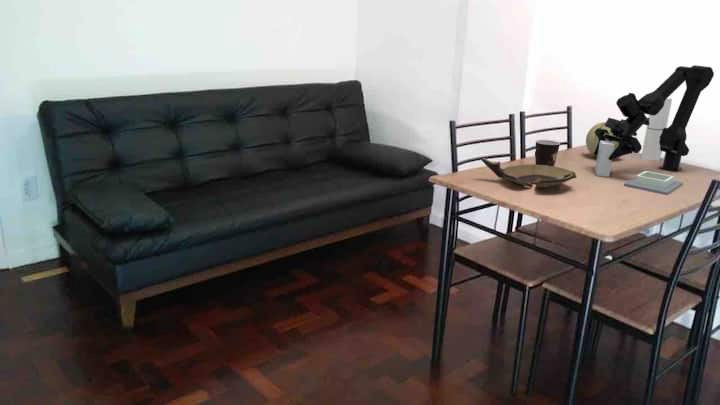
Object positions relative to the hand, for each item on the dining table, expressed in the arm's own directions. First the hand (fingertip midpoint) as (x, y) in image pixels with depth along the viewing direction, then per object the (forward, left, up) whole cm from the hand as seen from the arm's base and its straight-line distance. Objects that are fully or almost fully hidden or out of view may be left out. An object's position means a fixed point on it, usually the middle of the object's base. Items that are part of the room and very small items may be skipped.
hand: (601, 157), depth 219 cm
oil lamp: (+31, -12, -7) cm, 34 cm away
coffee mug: (+9, -18, -7) cm, 21 cm away
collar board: (-1, +19, -7) cm, 20 cm away
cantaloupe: (-28, -9, -7) cm, 31 cm away
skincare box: (-1, +1, -7) cm, 7 cm away
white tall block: (-43, +5, -7) cm, 44 cm away
